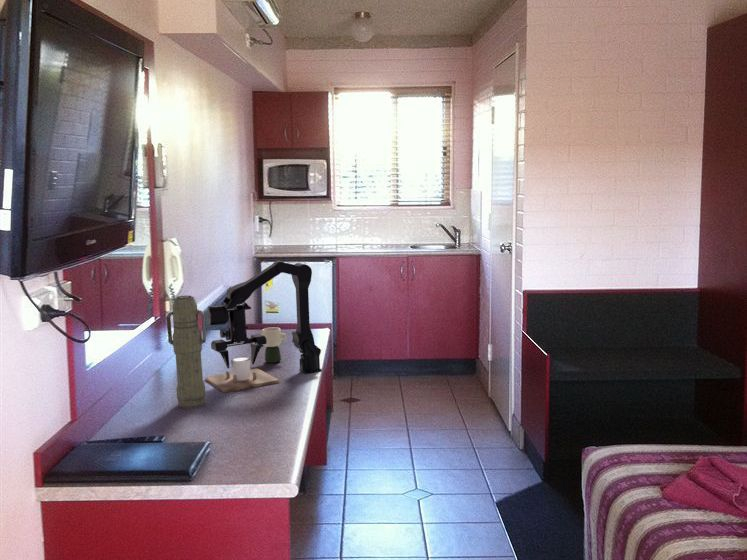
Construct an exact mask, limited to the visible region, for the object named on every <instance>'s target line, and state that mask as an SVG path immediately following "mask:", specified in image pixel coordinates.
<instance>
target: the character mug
mask: <svg viewBox="0 0 747 560" xmlns="http://www.w3.org/2000/svg"><path fill="white" fill-rule="evenodd" d="M281 331H282V329H281V328H280V327H273V326H272V327H266V328H263V329H261V333H260V334H261V335H264V336H265V337H266V339H267V344H262V345H263V347H266V348H265V352H264V361H265V363H266V362H267V363H276V362H279V361H281V360H282V356H281V350H280V347H279V346H280V345H281V344H282V342H286V341H287V333H285V332H281ZM282 336H283V337H282Z"/></svg>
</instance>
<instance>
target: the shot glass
mask: <svg viewBox="0 0 747 560" xmlns="http://www.w3.org/2000/svg"><path fill="white" fill-rule="evenodd" d="M230 364H231V369H232V373H233V375H237V381H243V380H248V379H249V378H250V369H251V357H248V356H245V357H244V356H243V357H242V356H241V357H234V358H231V359H230Z"/></svg>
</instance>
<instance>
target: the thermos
mask: <svg viewBox="0 0 747 560" xmlns="http://www.w3.org/2000/svg"><path fill="white" fill-rule="evenodd" d="M171 307H172V311H169V312H168V314H166V317H165V319H166V329H167V336H168V337H167V339H168V340H167V342H168V343H169V344H170V345H172V347H173V352H174V355H175V363H176V377H177V380H176V381H177V385H176V389H175V391H176V398H177V406H178V407H179V408H180V409H181V408H182V409H193V408H198V407H199V406H200V407H203V406H204V405H206V403H205V402H206V394H207V393H206V385H205V382H204V380H203V365H202V350H203V344H204V343H205V344H206V341H207V333H206V320H205V317H206V316H205V313H204V311H202V310H200V309H198V305H197V301H196V298H195V297H194V296H192V295H180V296H176V297H174V299H173V303H172V306H171ZM199 315H201V327H202V329H201V330H202V331H201V330H200V326H199V324H198V323H199V321H198V320H199ZM171 316H172V318H173V319H172V321H173V324H174V326H173V333H172V321H171ZM200 407H199V408H200Z"/></svg>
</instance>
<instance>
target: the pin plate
mask: <svg viewBox="0 0 747 560" xmlns="http://www.w3.org/2000/svg"><path fill="white" fill-rule="evenodd" d="M225 372H226V373H223V374H222V373H221V374H216V375H209V376H205V377H204V378H205V379H204V380H205V381H206V382H208V383H209V384H211V385H212V386H213V387H215V388H216V387H217V389H218V390H219V389H220V390H219V391H221V392H222V391H223V392H222V393H224V392H225V393H230V392H229V391H231V392H235V391H234V390H236V391H240V389H242V390H246V389H245V388H247V389H251V388H250V387H253V388H257V386H258V387H262V385H264V386H270V385H274V383H275V384H279V383H280V379H278V378H276V377H275V376H272V375H270V374H269V373H267V372H265V371H263V370H261V369H259V368H258V367H257V368H252V369H251V368H250V378H249V379H248V380H243V381H237V375H233V372H230V370H226V371H225Z"/></svg>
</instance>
